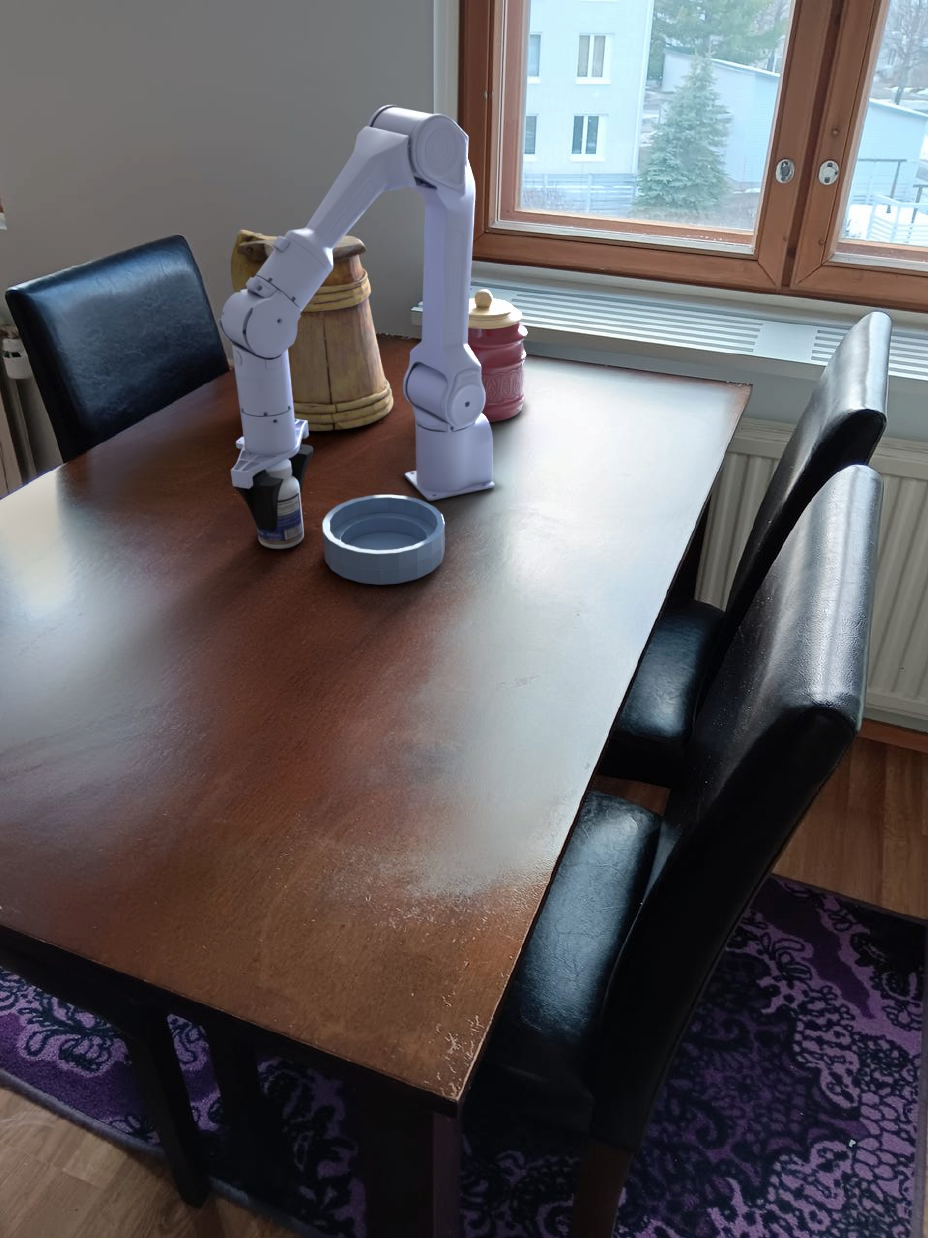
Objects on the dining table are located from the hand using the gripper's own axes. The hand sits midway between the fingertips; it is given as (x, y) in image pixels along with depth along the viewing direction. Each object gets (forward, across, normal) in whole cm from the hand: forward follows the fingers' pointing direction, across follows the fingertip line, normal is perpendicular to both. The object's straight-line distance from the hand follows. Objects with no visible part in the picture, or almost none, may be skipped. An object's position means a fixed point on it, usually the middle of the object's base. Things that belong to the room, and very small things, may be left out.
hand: (279, 517), depth 113 cm
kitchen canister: (+3, -46, +10) cm, 47 cm away
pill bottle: (+3, 0, 0) cm, 3 cm away
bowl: (+3, 0, +13) cm, 13 cm away
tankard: (+3, -37, -13) cm, 40 cm away
